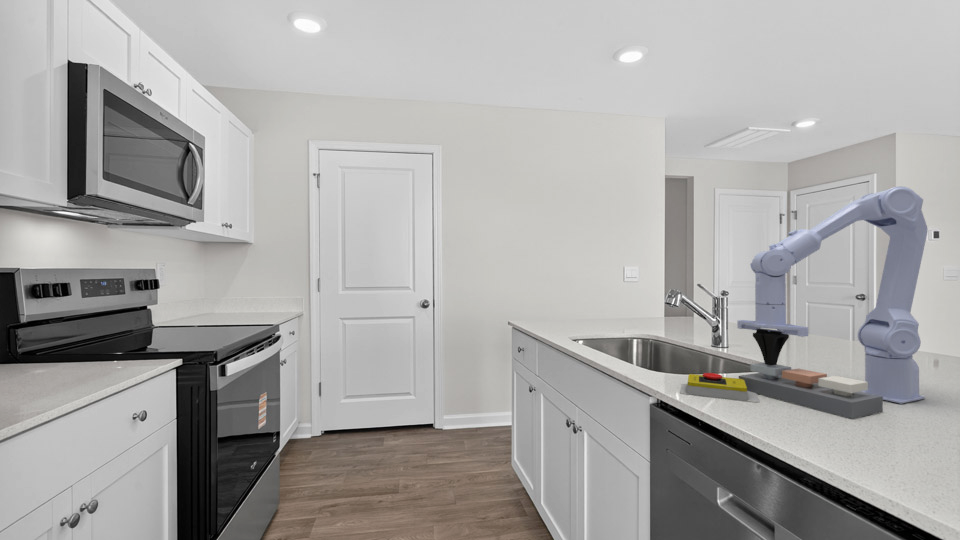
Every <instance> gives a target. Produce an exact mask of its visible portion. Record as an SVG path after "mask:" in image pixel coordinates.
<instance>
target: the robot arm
mask: <svg viewBox="0 0 960 540" xmlns="http://www.w3.org/2000/svg"><path fill="white" fill-rule="evenodd" d="M923 204H924V199H923V197H921V196H920V194H918V193H916V192H915V191H914V190H913V189H911V188H910V187H907V186H894V187H891V188H889V189H886V190H883V191H877V192H875V193H872V192H871V193H867V194H864V195H863V196H862V197H860V198H858V199H855V200H853V201H851V202H849V203H848V204H846V205H845V206H843V207H842V208H840V209H838V210H837V211H835V212H834V213H833V214H832V215H830V216H828V217H827V218H825V219H823V221H820V222H819V223H818V224H816V225H815V226H814V227H812V228H811V229H806V228H801V229H800V228H799V229H798V230H797V229H794V230H791V231H789V232H788V233H787V234H788V236H787V237H785V238H784V239H782V240H780V241H779V242H777V243H772V244H770V245H768V248H769V250H766V251H765V250H764V251H760V252H758V253H756V254H755V255H754V256H753V259H752V261H751V262H750V264H749V265H750V269H751V271H752V272H753V273H754V274H755V283H754V284H755V285H754V286H755V287H754V288H755V290H754V291H755V292H754V293H755V295H754V297H755V298H754V299H755V301H754V302H755V303H754V305H755V314H754V315H755V320H745V319H740V320H739V319H738V320H737V329H739V330H744V329H745V330H750V331H751V330H752V331H756V332H752V337H753V339H754V340H755V341H756V343H757V345H758V347H759V349H760V352H761V354H762V357H763V363H765V364H766V365H777V364H778V361H779V357H780V353H781V352H782V349H783V347H784V345H785V343H786V342H787V340H788V339H790V335H791V336H797V337H802V338H805V337H808V336H809V327H808V326H801V325H796V324H791V323H790V324H789V323H787V305H786V304H787V294H786V292H787V289H786V288H787V284H786V282H787V281H786V275H787V274H788V273H789V272H790V270H791V268H792V266H794V265H796V264H797V263H799V262H801V261H802V260H804V259H806V258H808V257H810V256H811V255H812V254H814V253H816V252H817V251H819V250H820V248H821V244H822V241H824V240H826V239H827V238H830V237H831V236H833V235H834V234H837V233H839V232H840V231H842V230H844V229H845V228H847V227H849V226H851V225H853V224H854V223H856V222H859V221H865V222H866V223H869V224H871V225H872V226H874V227H877V228H879V229H881V230H882V231H883V232H884V233H885V234H886V235H888V236H889V240H888V241H889V242H888V246H887V251H886V256H885V261H884V265H883V270H882V275H881V280H880V284H879V285H880V286H879V290H878V295H877V299H876V304H875V308H874V309H872V310H871V311H870V312H868V314H867V315H866V317H865V321H864V322H863V324H862V325H861V326H860V327H859V329H858V331H857V340H858V341H859V343H860V344H861V345H862V346H863V347H864V352H865V353H864V367H865V368H864V381H865V382H868V390H865V391H860V392H865V393H869V394H874V395H879V396H883V401H887V402H893V403H896V404H907V403H910V402H915V401H920V400H925V399H926V395H921V394H920V367H919V365H918V363H917V361H915V360H914V357H913V356H914V355H915V354H916V353H917V352H918V351H919V350H920V347H921V337H920V334H919V326H920V325H919V322H918V321H917V319H916V318H915V317H914V316H913V315H912V313H911V311H912V307H913V301H914V297H915V293H916V287H917V283H918V278H919V274H920V269H921V264H922V260H923V254H924V250H925V245H926V240H927V236H928V225H927V222H926V218H925V216H924V213H923V211H922V209H923Z"/></svg>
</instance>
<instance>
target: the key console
mask: <svg viewBox="0 0 960 540" xmlns="http://www.w3.org/2000/svg"><path fill="white" fill-rule="evenodd" d="M738 379H743V380H744V381H745V384H746V387H747V391H750V392H754V393H756V394H757V395H759V396H764V397H768V398H771V399H775V400H779V401H783V402H786V403H790V404H792V405H793V404H794V405H797V406H801V407H805V408H809V409H812V410H817V411H820V412H823V413H828V414H831V415H835V416H839V417H842V418H846V419H850V420H854V419H859V418H863V417H866V416H871V415H875V414H881V413H883V411H884V410H883V409H884V405H883V401H884V400H883V396H879V395H874V394H869V393H865V392H854V393H852V396H842V395H838V394H834V389H830V388H826V387H821V386H818V383H814V384H812V387H803V386H798V385H796V381H794V380H790V379H785V378H782V375H780V376H778V379H774V380H772V379H768V378H763V373H758V372H755V373H748V374H743V375H738Z"/></svg>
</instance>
